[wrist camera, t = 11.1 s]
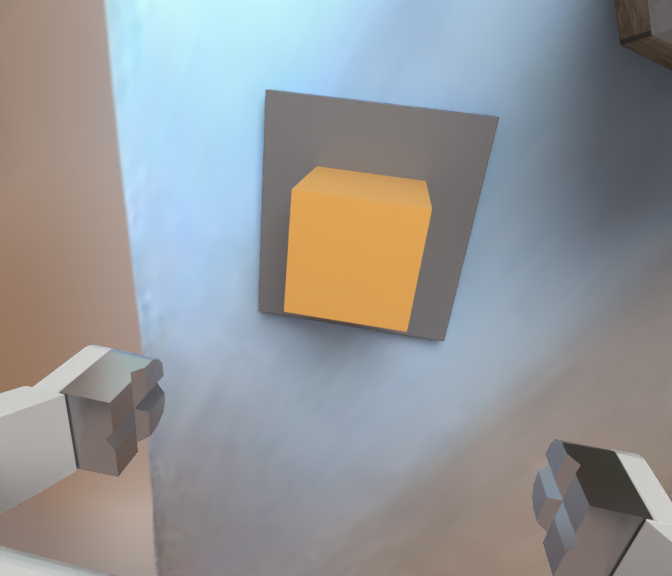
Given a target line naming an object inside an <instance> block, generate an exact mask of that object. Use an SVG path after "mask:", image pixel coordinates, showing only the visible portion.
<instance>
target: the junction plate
mask: <svg viewBox="0 0 672 576" xmlns="http://www.w3.org/2000/svg"><path fill="white" fill-rule="evenodd" d="M498 120H499V117H496V116H488V115H480V114H472V113H463V112H455V111H446V110H438V109H430V108H421V107H413V106H404V105H396V104H388V103H379V102H371V101H362V100H354V99H346V98H337V97H329V96H320V95H312V94H304V93H295V92H287V91H278V90H266V97H265V127H264V158H263V189H262V219H261V250H260V281H259V311H261V312H267V313H273V314H280V315H286V316H292V317H298V318H304V319H310V320H316V321H323V322H329V323H335V324H341V325H347V326H353V327H360V328H366V329H372V330H378V331H384V332H390V333H396V334H403V335H409V336H415V337H421V338H427V339H433V340H440V341H444V339H445V335H446V331H447V327H448V323H449V319H450V315H451V311H452V307H453V303H454V299H455V294H456V290H457V286H458V282H459V278H460V274H461V270H462V266H463V262H464V258H465V254H466V250H467V246H468V242H469V238H470V234H471V229H472V225H473V221H474V217H475V213H476V209H477V205H478V201H479V197H480V193H481V189H482V185H483V181H484V177H485V173H486V168H487V164H488V160H489V156H490V152H491V148H492V144H493V140H494V136H495V132H496V128H497V124H498ZM317 166H318V167H326V168H333V169H340V170H348V171H355V172H362V173H370V174H377V175H385V176H392V177H399V178H407V179H414V180H421V181H426V184H427V188H428V193H429V197H430V202H431V206H432V212H431V217H430V222H429V227H428V232H427V237H426V241H425V246H424V251H423V256H422V261H421V266H420V271H419V276H418V280H417V285H416V290H415V295H414V300H413V305H412V310H411V315H410V319H409V324H408V329H407V332H404V331H398V330H392V329H386V328H380V327H374V326H368V325H362V324H356V323H350V322H344V321H337V320H331V319H325V318H319V317H313V316H307V315H301V314H295V313H289V312H284V302H285V287H286V271H287V256H288V240H289V224H290V209H291V193H292V188H294V187H295V186H296V185H297V184H298V183H299V182H300V181H301V180H302V179H303V178H305V177H306V176H307V175H308V174H309V173H310V172H311V171H312V170H313V169H314V168H316V167H317Z"/></svg>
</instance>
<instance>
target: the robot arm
mask: <svg viewBox="0 0 672 576" xmlns="http://www.w3.org/2000/svg"><path fill="white" fill-rule="evenodd" d="M162 377H163V366H162V362H161V361H160V360H159V359H157V358H152V357H148V356H144V355H139V354H135V353H130V352H126V351H121V350H117V349H115V350H114V349H111V348H107V347H102V346H98V345H91V346H87V347H85V348H84V349H83V350H81V351H80V352H79V353H77V354H76V355H75V356H73V357H72V358H71V359H69V360H68V361H67V362H65V363H64V364H63V365H61V366H60V367H59V368H57V369H56V370H55V371H53V372H52V373H51V374H50V375H48V376H47V377H45V378H44V379H43V380H42V381H40V382H39V383H37V384H36V385H35V386H34V387H28V386H23V387H20V388H17V389H14V390H10V391H7V392H4V393H0V515H2V514H3V513H5V512H7V511H8V510H10V509H12V508H14V507H15V506H17V505H19V504H21V503H22V502H24V501H26V500H27V499H29V498H31V497H33V496H34V495H36V494H38V493H40V492H41V491H43V490H45V489H46V488H48V487H50V486H52V485H53V484H55V483H57V482H59V481H60V480H62V479H64V478H66V477H67V476H69V475H71V474H73V473H74V472H76V471H77V468H78V469H83V470H88V471H93V472H98V473H103V474H108V475H113V476H119V475H120V474H121V472H122V471H123V470H124V469H125V467H126V466H127V465H128V463H129V462H130V461H131V460H132V458H133V457H134V456H135V454H136V453H137V452H138V449H137V442H138V441H140V440H143V439H145V438H147V437H149V436H150V435H151V434H152V432H153V431H154V430H155V428H156V427H157V426H158V423H159V421H160V419H161V416H162V414H163V409H164V403H165V397H164V392H163V390H162V389H161V387H160V386H159V385H158V383H157V382H158V381H159V380H160V379H161V378H162ZM546 457H547V460H548V463H549V465H548V466H546V467H544V468H543V469H541V470H539V471H538V473H537V476H536V479H535V482H534V485H533V495H532V501H533V510H534V513H535V517H536V521H537V522H538V523H539V524H540V525H541V526H542V528H543V529H544V530H545V531H546V532H547V535H546V537H545V539H544V541H543V545H544V548H545V552H546V555H547V558H548V562H549V565H550V568H551V572H552V575H553V576H672V502H671V500H670V499H669V497H668V495H667V494H666V492H665V491H664V489H663V488H662V486H661V485H660V483H659V481H658V480H657V478H656V477H655V475H654V474H653V472H652V471H651V469H650V467H649V466H648V464H647V463H646V461H645V460H644V459H643V458H642V457H641V456H639V455H638V454H635V453H629V452H623V451H618V450H612V449H609V450H607V449H602V448H597V447H592V446H587V445H582V444H577V443H572V442H567V441H562V440H557V439H555V440H554V441H553V442H552V443H551V444H550V445H549V448H548V450H547V452H546ZM0 576H117V575H113V574H109V573H104V572H101V571H97V570H92V569H89V568H85V567H81V566H77V565H74V564H70V563H66V562H62V561H58V560H54V559H50V558H46V557H42V556H38V555H34V554H30V553H26V552H23V551H18V550H15V549H11V548H7V547H3V546H0Z"/></svg>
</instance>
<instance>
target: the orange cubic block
mask: <svg viewBox="0 0 672 576" xmlns="http://www.w3.org/2000/svg"><path fill="white" fill-rule="evenodd" d="M431 212H432V206H431V202H430V197H429V193H428V188H427V184H426V181H421V180H414V179H407V178H399V177H392V176H385V175H377V174H370V173H362V172H355V171H348V170H340V169H333V168H326V167H318V166H317V167H316V168H314V169H313V170H312V171H311V172H310V173H309V174H308V175H307V176H306V177H305V178H303V179H302V180H301V181H300V182H299V183H298V184H297V185H296V186H295V187H294V188H292V193H291V209H290V224H289V240H288V256H287V271H286V287H285V302H284V312H289V313H295V314H301V315H307V316H313V317H319V318H325V319H331V320H337V321H344V322H350V323H356V324H362V325H368V326H374V327H380V328H386V329H392V330H398V331H404V332H407V329H408V324H409V319H410V315H411V310H412V305H413V300H414V295H415V290H416V285H417V280H418V276H419V271H420V266H421V261H422V256H423V251H424V246H425V241H426V237H427V232H428V227H429V222H430V217H431Z"/></svg>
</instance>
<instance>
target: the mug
mask: <svg viewBox="0 0 672 576" xmlns="http://www.w3.org/2000/svg"><path fill="white" fill-rule="evenodd" d="M615 7H616V14H617V21H618V29H619V36H620V43H621V45H623V46H625V47H627V48H629V49H631V50H633V51H635V52H637V53H639V54H641V55H643V56H644V57H646V58H648V59H650V60H652V61H654V62H656V63H658V64H660V65H662V66H664V67H666V68H668V69H670V70H672V0H615Z"/></svg>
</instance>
